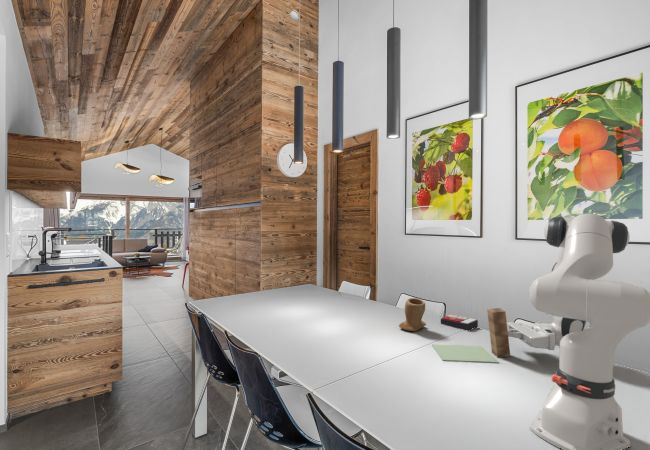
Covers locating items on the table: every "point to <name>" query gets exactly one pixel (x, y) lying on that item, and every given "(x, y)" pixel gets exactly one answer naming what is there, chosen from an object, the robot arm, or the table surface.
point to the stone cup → (413, 315)
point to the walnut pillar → (498, 332)
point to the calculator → (459, 322)
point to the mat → (464, 353)
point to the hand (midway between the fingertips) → (505, 333)
